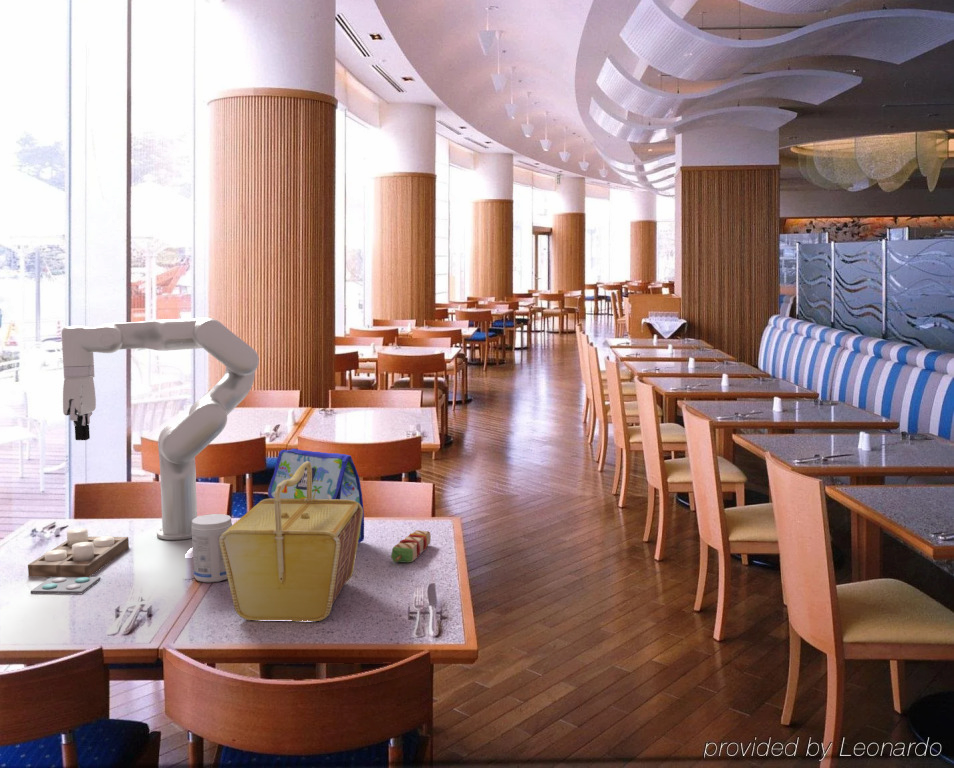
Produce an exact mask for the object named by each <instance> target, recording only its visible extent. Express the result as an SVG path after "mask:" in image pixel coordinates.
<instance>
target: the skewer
mask: <svg viewBox="0 0 954 768" xmlns="http://www.w3.org/2000/svg"><path fill="white" fill-rule="evenodd" d="M431 539H432V538H431V532H430V531H428V530H427V531H426V530H419V529H416V530H415V531H413V532H412V533H409V535H407V536H406V537H405V538H404V539H402V540H400V541H399V542H398V543H397V544H395V545H394V546H393V547H392V549H391V556H390V557H391V560H392V562H393V563H412V562H414V561H415V560H416V559H417V558H419V557H420V556H421V555H422V553H423V552H424V551H425V550H426V549H427V547H428V546H429V545H430V544H431Z"/></svg>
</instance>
